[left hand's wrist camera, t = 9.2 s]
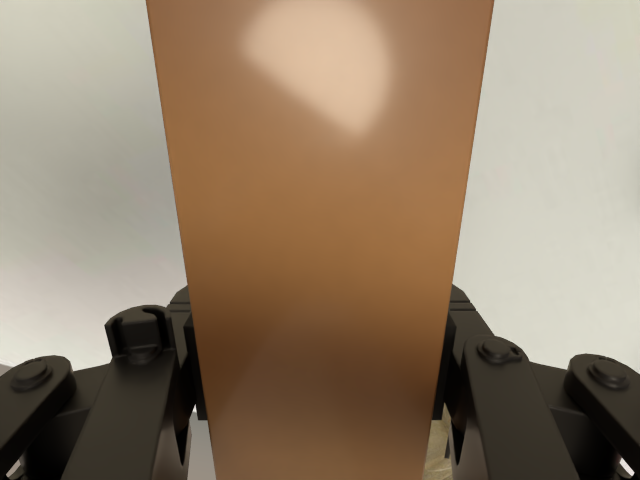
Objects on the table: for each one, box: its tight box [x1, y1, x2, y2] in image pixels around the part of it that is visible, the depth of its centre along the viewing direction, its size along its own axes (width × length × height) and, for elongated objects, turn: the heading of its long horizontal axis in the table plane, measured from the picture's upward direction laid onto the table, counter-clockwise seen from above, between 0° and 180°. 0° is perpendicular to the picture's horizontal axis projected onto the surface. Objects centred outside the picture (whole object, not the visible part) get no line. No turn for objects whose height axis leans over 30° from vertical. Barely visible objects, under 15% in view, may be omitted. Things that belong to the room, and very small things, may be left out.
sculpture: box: [423, 403, 453, 480], centre depth 32 cm, size 6×7×15 cm
